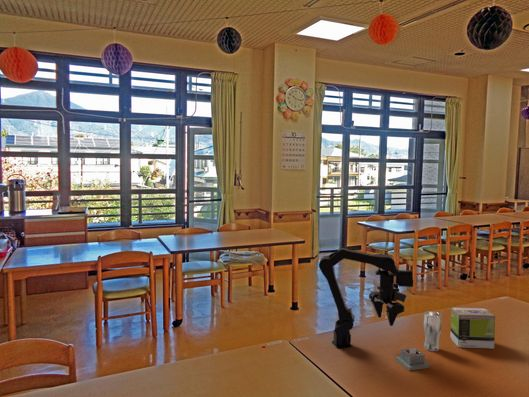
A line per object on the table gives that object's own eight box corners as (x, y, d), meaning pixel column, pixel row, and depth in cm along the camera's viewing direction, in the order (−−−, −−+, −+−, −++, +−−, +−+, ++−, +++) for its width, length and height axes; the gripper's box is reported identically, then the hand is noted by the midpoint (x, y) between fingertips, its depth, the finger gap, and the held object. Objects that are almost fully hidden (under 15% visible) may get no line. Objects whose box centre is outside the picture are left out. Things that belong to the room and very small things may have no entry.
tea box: (484, 339, 184) (486, 307, 183) (494, 349, 174) (496, 315, 173) (449, 338, 186) (450, 306, 185) (457, 347, 176) (459, 314, 175)
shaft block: (408, 370, 156) (409, 355, 156) (395, 359, 165) (396, 345, 164) (429, 367, 158) (430, 352, 158) (415, 357, 167) (416, 342, 167)
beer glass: (421, 349, 174) (423, 315, 172) (423, 343, 180) (425, 310, 179) (439, 353, 171) (441, 318, 169) (441, 346, 177) (442, 312, 175)
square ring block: (409, 365, 158) (410, 356, 157) (400, 357, 164) (400, 349, 164) (424, 363, 159) (424, 354, 159) (414, 356, 166) (414, 347, 165)
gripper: (416, 290, 165) (415, 328, 166) (391, 278, 183) (390, 312, 184) (392, 292, 162) (390, 331, 163) (368, 279, 180) (367, 314, 181)
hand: (385, 321), depth 173 cm, fingers open, 9 cm apart
